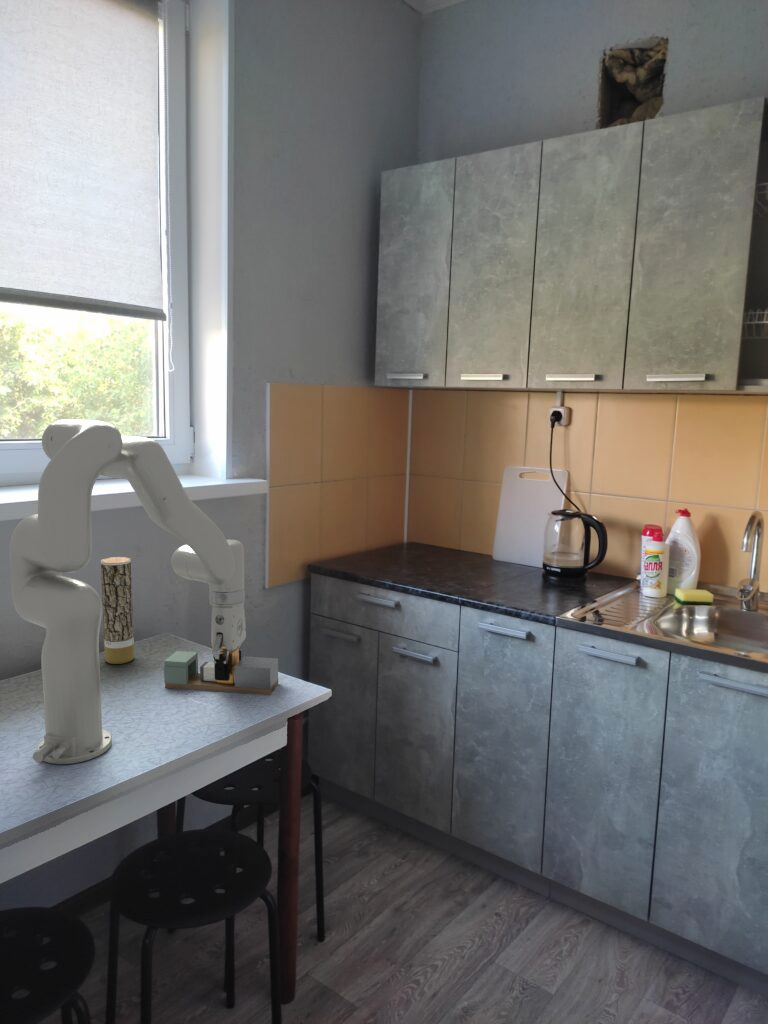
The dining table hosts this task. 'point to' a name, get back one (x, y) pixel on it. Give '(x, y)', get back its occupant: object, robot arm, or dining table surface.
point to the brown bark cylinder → (117, 609)
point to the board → (217, 686)
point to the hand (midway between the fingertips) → (228, 672)
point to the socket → (180, 667)
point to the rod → (209, 669)
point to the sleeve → (256, 672)
